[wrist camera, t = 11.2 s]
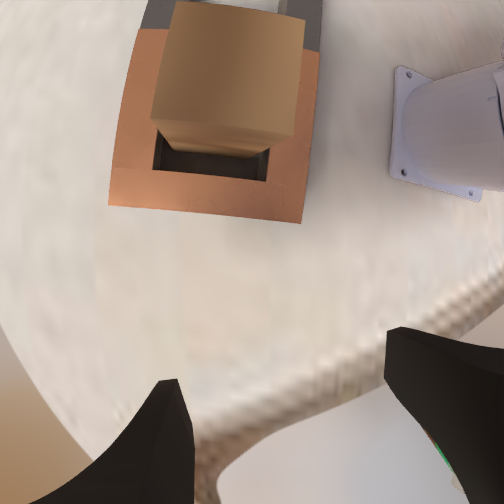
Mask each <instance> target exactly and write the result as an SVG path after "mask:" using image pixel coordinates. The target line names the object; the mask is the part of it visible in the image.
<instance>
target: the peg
mask: <svg viewBox="0 0 504 504" xmlns="http://www.w3.org/2000/svg"><path fill="white" fill-rule="evenodd" d="M304 30H305V20H302V19H298V18H294V17H290V16H285V15H281V14H276V13H271V12H266V11H261V10H255V9H249V8H243V7H236V6H229V5H220V4H211V3H200V2H187V1H176V5H175V8H174V12H173V15H172V19H171V23H170V27H169V31H168V35H167V39H166V43H165V47H164V51H163V55H162V60H161V64H160V69H159V74H158V79H157V84H156V89H155V94H154V99H153V105H152V111H151V117H150V118H151V120H152V121H153V123H154V124H155V125H156V127H157V128H158V129H159V131H160V132H161V133H162V135H163V136H164V138H165V139H166V140H167V142H168V143H169V144H170V146H171V147H172V149H173V150H174V151H175V152H185V153H195V154H205V155H214V156H223V157H231V158H239V159H246V160H247V159H249V158H251V157H252V156H254V155H256V154H258V153H260V152H262V151H264V150H266V149H268V148H270V147H272V146H273V145H275V144H277V143H279V142H281V141H283V140H285V139H287V138H289V137H291V136H293V133H294V124H295V115H296V107H297V98H298V89H299V80H300V70H301V60H302V51H303V41H304Z"/></svg>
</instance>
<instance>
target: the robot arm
mask: <svg viewBox="0 0 504 504" xmlns="http://www.w3.org/2000/svg"><path fill="white" fill-rule="evenodd" d="M500 53H501V55H502V57H503V59H504V40H503V46H502V47H501V49H500ZM406 73H407V74H408V75H409V78H408V77H407V75H406ZM402 169H403V171H404V175H403V176H402V174H401V170H402ZM389 173H390V175H391V176H392V177H393V178H395V179H399V180H403V181H406V182H410V183H414V184H418V185H421V186H425V187H429V188H432V189H436V190H439V191H443V192H446V193H449V194H453V195H456V196H459V197H462V198H466V199H469V200H472V201H475V202H479V201H480V200H481V198H482V190H490V191H500V192H504V60H503V61H499V62H495V63H492V64H488V65H485V66H481V67H478V68H474V69H471V70H468V71H464V72H461V73H458V74H455V75H452V76H449V77H445V78H442V79H439V80H436V81H434V80H432V79H430V78H428V77H426V76H423V75H421V74H419V73H417V72H415V71H413V70H410V69H408V68H406V67H403V66H399V67H397V68H396V69H395V90H394V115H393V131H392V144H391V156H390V166H389ZM469 191H470V194H469ZM384 379H385V380H386V382H387V384H388V385H389V387H390V389H391V390H392V392H393V393H394V394H395V396H396V398H397V399H398V400H399V401H400V402H401V404H402V405H403V406H404V407H405V408H406V409H407V410H408V412H409V413H410V414H411V415H412V416H413V417H414V418H415V419H416V421H417V422H418V423H419V424H420V425H421V426H422V427H423V428H424V430H425V431H426V432H427V433H428V434H429V435H430V436H431V438H432V439H433V440H434V441H435V443H436V444H437V446H438V447H439V449H440V450H441V452H442V453H443V455H444V456H445V458H446V459H447V461H448V463H449V464H450V466H451V468H452V470H453V471H454V473H455V475H456V476H457V478H458V480H459V482H460V484H461V486H462V488H463V490H464V492H465V494H466V496H467V499H468V501H469V503H470V504H504V349H501V348H492V347H485V346H479V345H474V344H469V343H464V342H460V341H456V340H452V339H448V338H445V337H441V336H437V335H434V334H430V333H426V332H423V331H419V330H415V329H411V328H406V327H398V328H395V329H392V330H389V331H387V340H386V356H385V369H384ZM194 470H195V446H194V436H193V427H192V422H191V419H190V416H189V413H188V411H187V408H186V405H185V402H184V399H183V395H182V392H181V389H180V386H179V383H178V380H177V379H170V380H162V381H158V383H157V384H156V386H155V387H154V388H153V390H152V391H151V393H150V394H149V396H148V397H147V399H146V400H145V402H144V403H143V405H142V406H141V408H140V409H139V410H138V412H137V413H136V415H135V416H134V417H133V419H132V420H131V422H130V423H129V424H128V425H127V427H126V428H125V429H124V430H123V432H122V433H121V434H120V435H119V437H118V438H117V439H116V440H115V441H114V442H113V443H112V445H111V446H110V447H109V448H108V449H107V450H106V451H105V452H104V453H103V454H102V455H101V456H99V457H98V458H97V459H96V460H95V461H94V462H93V463H92V464H91V465H89V466H88V467H87V468H86V469H84V470H83V471H82V472H81V473H79V474H78V475H77V476H75V477H74V478H73V479H72V480H70V481H69V482H67V483H66V484H64V485H63V486H61V487H60V488H58V489H56V490H55V491H53V492H51V493H50V494H48V495H46V496H44V497H42V498H40V499H38V500H36V501H34V502H32V503H29V504H194Z"/></svg>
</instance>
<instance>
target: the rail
mask: <svg viewBox="0 0 504 504" xmlns="http://www.w3.org/2000/svg"><path fill="white" fill-rule="evenodd" d="M176 1H187V2H191V0H148V3H147V6H146V10H145V13H144V16H143V19H142V23H141V26H140V29H139V30H138V33H137V37H136V41H135V44H134V48H133V52H132V56H131V60H130V65H129V69H128V73H127V78H126V82H125V87H124V92H123V97H122V103H121V108H120V114H119V119H118V126H117V132H116V139H115V146H114V153H113V161H112V170H111V179H110V189H109V201H108V205H112V206H125V207H138V208H150V209H162V210H173V211H184V212H195V213H206V214H216V215H226V216H235V217H245V218H254V219H263V220H272V221H281V222H289V223H298V224H301V220H302V213H303V206H304V198H305V191H306V183H307V175H308V167H309V158H310V150H311V141H312V132H313V123H314V113H315V103H316V93H317V82H318V71H319V59H320V53H319V43H320V30H321V15H322V0H280V1H279V9H278V14H281V15H285V16H290V17H294V18H298V19H302V20H305V30H304V41H303V51H302V60H301V70H300V80H299V89H298V98H297V107H296V115H295V124H294V133H293V136H291V137H289V138H287V139H285V140H283V141H281V142H279V143H277V144H275V145H273V146H272V147H270V148H268V149H266V150H264V151H262V152H260V156H259V164H258V172H257V180H256V181H255V180H247V179H239V178H231V177H222V176H213V175H203V174H193V173H182V172H171V171H159V169H160V161H161V153H162V146H163V139H164V136H163V135H162V133H161V132H160V131H159V129H158V128H157V127H156V125H155V124H154V123H153V121H152V120H151V118H150V117H151V111H152V105H153V99H154V94H155V89H156V84H157V79H158V74H159V69H160V64H161V60H162V55H163V51H164V47H165V43H166V39H167V35H168V31H169V27H170V23H171V19H172V15H173V12H174V8H175V5H176Z"/></svg>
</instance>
